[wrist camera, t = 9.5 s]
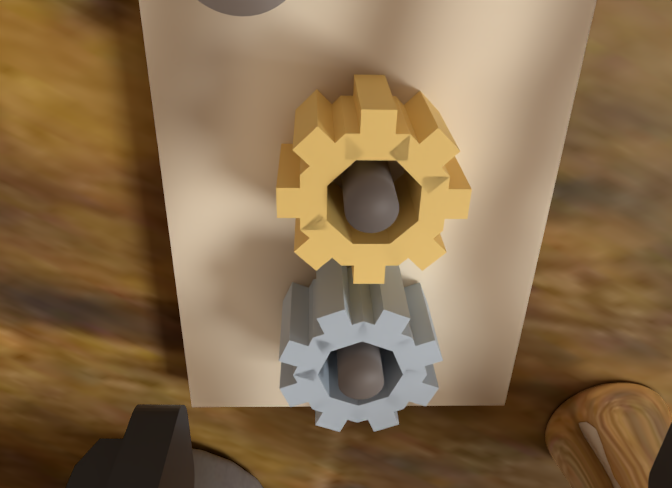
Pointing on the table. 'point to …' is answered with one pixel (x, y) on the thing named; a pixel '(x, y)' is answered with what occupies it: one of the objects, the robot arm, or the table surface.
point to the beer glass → (608, 435)
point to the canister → (220, 472)
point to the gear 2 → (350, 328)
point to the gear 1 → (370, 144)
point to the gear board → (257, 115)
